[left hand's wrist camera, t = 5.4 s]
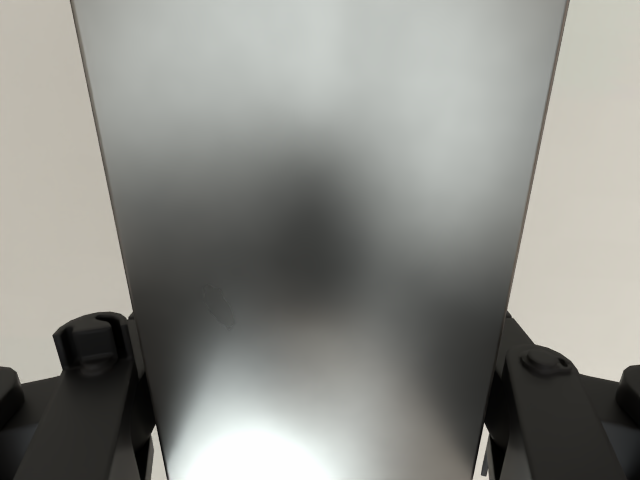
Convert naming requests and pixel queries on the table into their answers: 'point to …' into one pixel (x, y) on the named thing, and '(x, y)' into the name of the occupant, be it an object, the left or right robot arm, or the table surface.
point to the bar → (319, 220)
